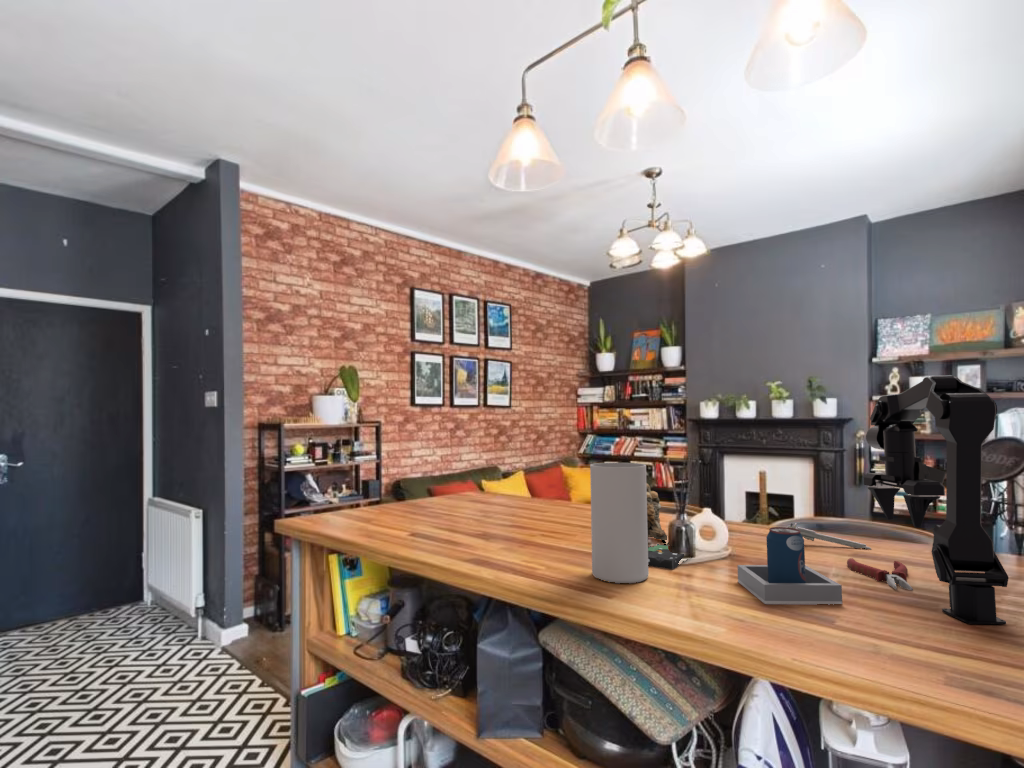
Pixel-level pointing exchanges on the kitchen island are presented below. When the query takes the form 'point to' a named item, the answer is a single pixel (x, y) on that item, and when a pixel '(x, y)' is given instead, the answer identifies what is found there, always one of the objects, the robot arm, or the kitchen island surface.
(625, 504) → the cylinder vase
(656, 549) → the disk drive
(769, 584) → the tray
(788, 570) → the soda can
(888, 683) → the kitchen island surface
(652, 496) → the owl figurine
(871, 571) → the pliers
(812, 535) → the caliper
